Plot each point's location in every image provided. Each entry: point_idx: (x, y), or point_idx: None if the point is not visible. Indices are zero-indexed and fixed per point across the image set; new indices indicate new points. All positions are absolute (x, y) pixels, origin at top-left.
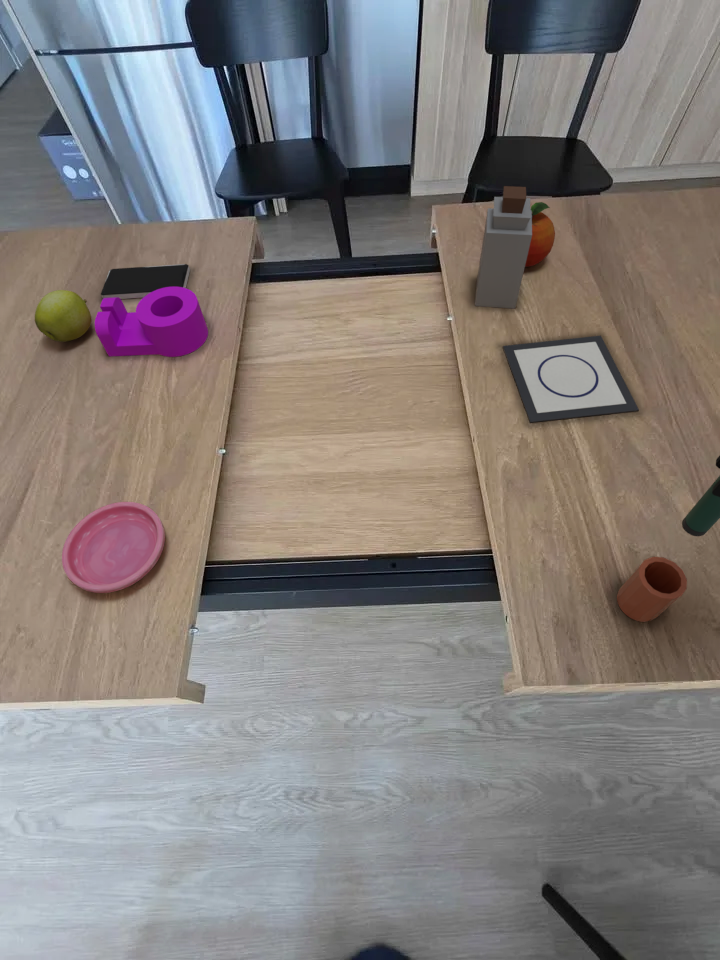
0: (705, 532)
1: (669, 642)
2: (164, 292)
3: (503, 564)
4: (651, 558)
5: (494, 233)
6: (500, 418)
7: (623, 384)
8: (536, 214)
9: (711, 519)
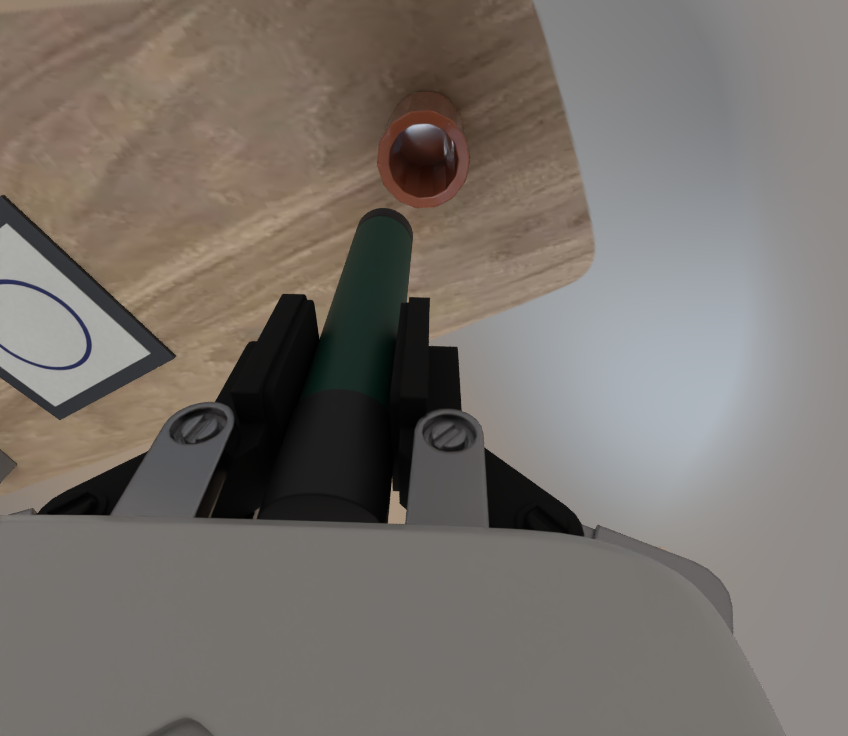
0: (403, 222)
1: (485, 62)
2: None
3: (439, 336)
4: (390, 189)
5: None
6: (197, 391)
7: None
8: None
9: (408, 267)
